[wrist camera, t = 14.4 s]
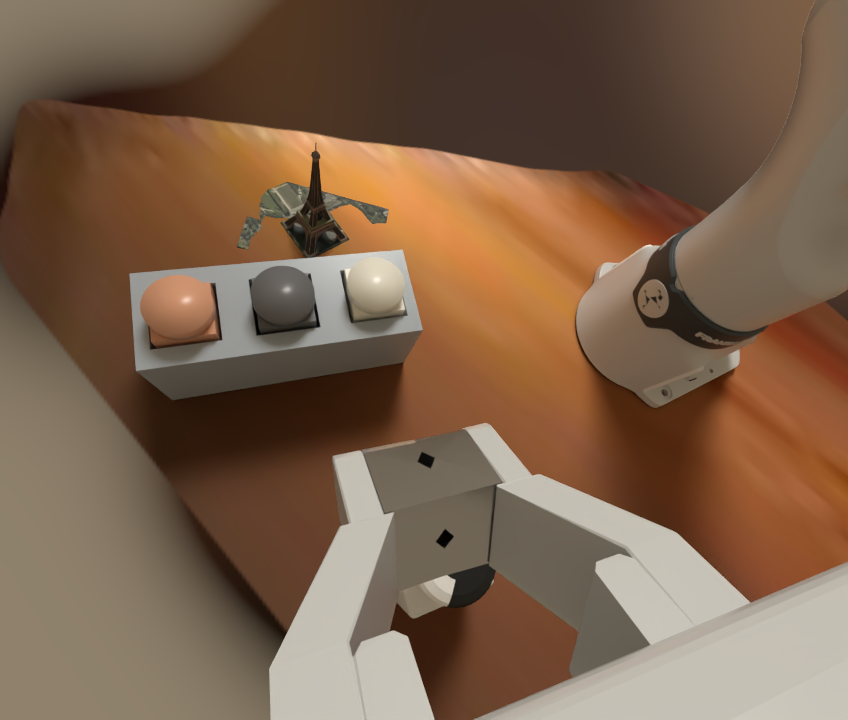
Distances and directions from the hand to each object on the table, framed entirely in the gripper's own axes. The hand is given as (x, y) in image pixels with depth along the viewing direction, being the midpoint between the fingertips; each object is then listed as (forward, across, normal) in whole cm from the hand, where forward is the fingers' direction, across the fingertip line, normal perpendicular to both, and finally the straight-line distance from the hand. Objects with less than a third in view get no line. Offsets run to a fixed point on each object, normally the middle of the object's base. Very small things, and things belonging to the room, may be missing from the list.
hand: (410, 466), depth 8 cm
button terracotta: (+34, +9, +11) cm, 37 cm away
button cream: (+34, -6, +11) cm, 37 cm away
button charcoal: (+34, +1, +11) cm, 36 cm away
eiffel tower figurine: (+46, -4, +5) cm, 47 cm away
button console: (+37, +1, +13) cm, 39 cm away
